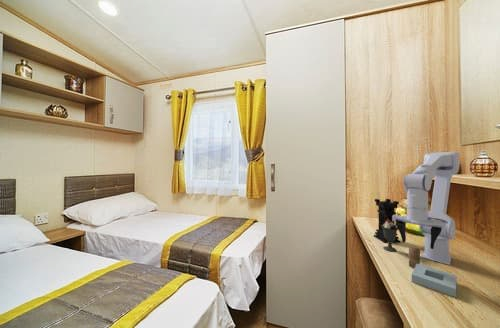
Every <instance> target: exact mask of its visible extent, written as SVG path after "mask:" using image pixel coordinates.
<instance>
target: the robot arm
mask: <svg viewBox="0 0 500 328" xmlns="http://www.w3.org/2000/svg"><path fill="white" fill-rule="evenodd" d="M423 162H424V163H421V164H420V165H419V166H418V167H416V169H415V170H414V171H413V172H412V173H408V174H406V175H404V177H403V187H404V190H405V191H404V193H405V195H406V216H405V215H397V214H395V215H393V216H392V221H395V225H396V227H397V228H398V230H397V231H398V232H399V234H400V237H401V241H402V243H406V241H407V234H406V224H411V225H417V226H418V229H419V231H420V232H421V233H422V235H424V252H423V253H422V256H421V257H422V258H423V259H425V260H430V261H434V262H437V263H441V264H445V265H448V266H450V265H451V261H452V255H450V240H452V239H454V238H455V236H456V222H455V220H454V218H452V217H451V216H449V215H448V214H447V211H448V209H447V208H448V204H449V203H448V202H449V197H450V196H449V194H450V188H451V181H452V177H453V176H454V175H456V174H458V173H459V170H460V164H461V163H460V162H461V158H460V153H459V152H458V151H456V150H455V151H447V152H445V151H444V152H426V154H424V157H423ZM433 179H434V185H433V191H432V198H431V204H430V210H429V191H430V190H431V187H432V184H433Z"/></svg>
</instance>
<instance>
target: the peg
mask: <svg viewBox="0 0 500 328" xmlns="http://www.w3.org/2000/svg"><path fill="white" fill-rule="evenodd" d="M416 264H420V265H421V249H420V248H419V247H416V246H412V245H411V246H408V266H409V267H410V268H412V269H414V268H415V266H416Z"/></svg>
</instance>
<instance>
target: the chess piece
mask: <svg viewBox="0 0 500 328" xmlns="http://www.w3.org/2000/svg"><path fill="white" fill-rule="evenodd" d="M374 202H375V205H376V206H377V207H378V209H377V213H378V229H377V228H376V229H375V232H374V235H373V237H374V238H376V240H379V241H380V242H382V243H384V244H387V243H388V241H387V240H386V239H385V237H384V232H383V228H382V227H381V225H383V224H384V223H385V222H386V220H387V218H388V220H390V221H391V222H393V223H394V225H396V224H395V223H396V221H392V216H393V215H397V213H396V212H395V209H398V205H399V203H400V202H399V201H397V200H393V201H391V198H385V200H383V201H381V200H380V199H378V198H374ZM385 215H386V216H387V217H386V216H385ZM393 243H395V244H396V243H397V244H398V243H401V240H400V237H399V236H398V232H397V233H396V239H395V240H394V241H393V242H391V244H393Z"/></svg>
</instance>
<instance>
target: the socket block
mask: <svg viewBox="0 0 500 328" xmlns="http://www.w3.org/2000/svg"><path fill="white" fill-rule="evenodd" d="M457 281H458V276H457V274H453V273H451V272H448V271H447V272H446V271H444V270H440V269H437V268H433V267H430V266H426V265H424V264H421V263H420V264H416V266H415V268H413V271H412V273H411V283H414V284H416V285H419V286H422V287H426V288H429V289H431V290H433V291H436V292H439V293H442V294H445V295H448V296H450V297H454V298H456V297H457V286H458V285H457V284H458V282H457Z"/></svg>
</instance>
